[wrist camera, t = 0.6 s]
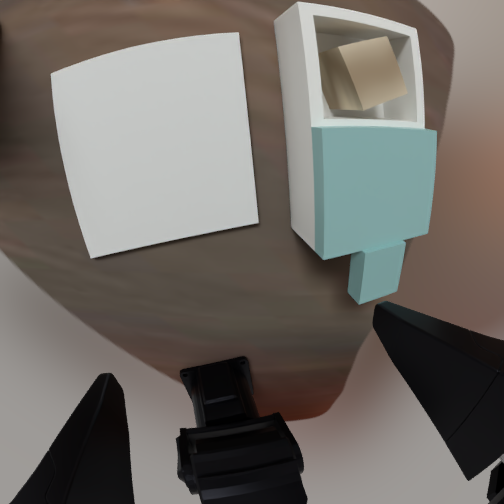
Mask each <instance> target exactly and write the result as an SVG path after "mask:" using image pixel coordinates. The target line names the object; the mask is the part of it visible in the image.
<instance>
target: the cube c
mask: <svg viewBox="0 0 504 504" xmlns="http://www.w3.org/2000/svg"><path fill="white" fill-rule="evenodd" d="M318 57H319V66H320V76H321V87H322V92H323V94H324V96H325V99H326V101H327V104H328V106H329V109H340V110H363V111H364V110H366V109H369V108H371V107H374V106H376V105H379V104H381V103H384V102H387V101H389V100H392V99H395V98H397V97H400V96H403V95H405V94H408V92H407V89H406V86H405V83H404V80H403V77H402V74H401V71H400V68H399V65H398V63H397V60H396V57H395V55H394V52H393V50H392V47H391V45H390V42H389V40H388V37H387V36H385V37H379V38H374V39H369V40H365V41H360V42H356V43H351V44H347V45H343V46H339V47H336V48H333V49H330V50H327V51H324V52H321V53H318Z"/></svg>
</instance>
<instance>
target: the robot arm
mask: <svg viewBox="0 0 504 504" xmlns="http://www.w3.org/2000/svg"><path fill="white" fill-rule="evenodd" d="M372 323H373V328H374V330H375V331H376V333H377V335H378V337H379V339H380V340H381V342H382V344H383V346H384V348H385V350H386V351H387V353H388V355H389V357H390V358H391V360H392V362H393V363H394V365H395V366H396V368H397V369H398V371H399V372H400V373H401V375H402V377H403V378H404V379H405V381H406V382H407V384H408V385H409V387H410V388H411V390H412V391H413V393H414V394H415V396H416V397H417V399H418V400H419V402H420V404H421V405H422V407H423V408H424V410H425V411H426V413H427V414H428V416H429V417H430V419H431V421H432V422H433V424H434V425H435V427H436V429H437V430H438V432H439V433H440V435H441V436H442V438H443V440H444V441H445V443H446V445H447V447H448V448H449V450H450V452H451V453H452V455H453V457H454V458H455V460H456V462H457V463H458V465H459V467H460V468H461V470H462V472H463V474H464V475H465V477H466V479H467V480H468V481H469V480H471V479H472V478H474V477H475V476H476V475H478V474H479V473H480V472H482V471H483V470H484V469H486V468H487V467H488V466H489V465H491V464H492V463H493V462H494V461H496V460H497V459H498V458H500V459H501V461H500V462H499V463H498V464H497V465H496V466H495V468H494V469H493V470H492V471H491V475H490V482H489V487H488V493H487V498H488V500H489V501H490V502H489V503H488V504H504V340H500V339H496V338H492V337H489V336H486V335H483V334H480V333H477V332H474V331H471V330H470V331H469V330H468V329H465V328H462V327H460V326H457V325H454V324H451V323H448V322H445V321H442V320H439V319H437V318H434V317H431V316H428V315H425V314H423V313H420V312H417V311H414V310H411V309H408V308H405V307H402V306H400V305H397V304H394V303H391V302H388V301H383V302H381V303H378V304H376V306H375V309H374V316H373V322H372ZM242 361H243V362H242ZM180 377H181V379H182V381H183V383H184V386H185V387H186V390H187V392H188V394H189V396H190V398H191V400H192V402H193V407H194V413H195V419H196V424H197V428H189V429H186V428H180V436H179V437H177V438H176V443H177V451H178V467H177V469H178V470H177V474H178V478H179V479H180V480H182V481H183V482H185V483H186V486H187V487H188V488H189V491H190V493H191V494H192V495H193V494H199V496H200V500H201V503H202V504H307V495H306V493H305V490H304V487H303V484H302V480H301V476H300V474H301V473H302V472H303V470H304V462H303V457H302V454H301V451H300V448H299V446H298V443H297V442H296V440H295V438H294V436H293V435H292V433H291V431H290V430H289V428H288V426H287V425H286V423H285V421H284V420H283V418H282V416H281V415H280V413H279V412H277V413H273V414H272V415H268V416H263V417H260V416H259V413H258V411H257V408H256V405H255V402H254V399H253V396H252V395H253V387H252V382H251V376H250V370H249V365H248V360H247V358H246V357H244V356H242V357H237V358H233V359H229V360H224V361H220V362H216V363H211V364H206V365H201V366H196V367H191V368H186V369H182V370H181V371H180ZM9 504H135V502H134V494H133V484H132V473H131V461H130V442H129V431H128V423H127V416H126V408H125V399H124V393H123V389H122V387H121V386H120V384H119V383H118V382H117V380H116V378H115V377H114V375H113V374H112V373H103V374H100V375H99V376H98V377H97V379H96V380H95V381H94V383H93V384H92V385H91V387H90V388H89V390H88V391H87V393H86V394H85V396H84V397H83V398H82V400H81V401H80V403H79V404H78V406H77V407H76V409H75V410H74V412H73V413H72V414H71V416H70V417H69V419H68V420H67V422H66V424H65V425H64V427H63V428H62V430H61V431H60V433H59V434H58V436H57V437H56V439H55V440H54V442H53V443H52V445H51V447H50V448H49V451H47V453H46V454H45V456H44V457H43V459H42V460H41V462H40V464H39V465H38V467H37V468H36V470H35V471H34V472H33V474H32V475H31V476H30V478H29V479H28V481H27V482H26V483H25V484H24V486H23V487H22V488H21V490H20V491H19V492H18V494H17V495H16V496H15V498H14V499H13V500H12V502H11V503H9Z"/></svg>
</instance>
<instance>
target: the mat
mask: <svg viewBox="0 0 504 504" xmlns="http://www.w3.org/2000/svg"><path fill="white" fill-rule="evenodd" d="M51 83H52V94H53V103H54V111H55V119H56V125H57V132H58V138H59V143H60V149H61V154H62V159H63V163H64V168H65V172H66V177H67V181H68V185H69V189H70V193H71V197H72V200H73V204H74V207H75V211H76V214H77V218H78V221H79V224H80V228H81V231H82V234H83V237H84V240H85V243H86V246H87V249H88V251H89V254H90V257H91V258H95V257H99V256H103V255H108V254H112V253H116V252H121V251H125V250H130V249H134V248H139V247H143V246H148V245H152V244H157V243H162V242H166V241H171V240H176V239H180V238H185V237H190V236H195V235H200V234H205V233H210V232H215V231H220V230H225V229H230V228H235V227H240V226H245V225H250V224H255V223H259V222H258V211H257V201H256V191H255V181H254V171H253V161H252V151H251V141H250V132H249V122H248V112H247V103H246V94H245V85H244V75H243V66H242V57H241V48H240V40H239V32H238V33H220V34H209V35H199V36H191V37H183V38H176V39H170V40H164V41H159V42H154V43H149V44H144V45H139V46H135V47H131V48H127V49H123V50H119V51H115V52H112V53H108V54H105V55H101V56H98V57H95V58H92V59H89V60H86V61H83V62H80V63H77V64H75V65H72V66H69V67H67V68H64V69H61V70H59V71H56V72H54V73H52V74H51Z"/></svg>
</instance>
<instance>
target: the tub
mask: <svg viewBox="0 0 504 504" xmlns="http://www.w3.org/2000/svg"><path fill="white" fill-rule="evenodd" d="M274 28H275V36H276V44H277V53H278V62H279V71H280V81H281V91H282V101H283V112H284V124H285V136H286V149H287V164H288V179H289V196H290V215H291V228H292V229H293V230H294V231H295V232H296V233H297V234H298V235H299V236H300V237H301V238H302V239H303V240H304V241H305V242H306V243H307V244H308V245H309V246H310V247H311V248H312V249H313V250H314V251H315V206H314V171H313V149H312V131H311V127H320V126H391V127H410V128H423V129H424V93H423V79H422V67H421V58H420V50H419V43H418V36H417V30H416V29H415V28H412V27H409V26H406V25H403V24H400V23H397V22H394V21H391V20H388V19H384V18H381V17H377V16H373V15H369V14H365V13H361V12H357V11H352V10H348V9H343V8H337V7H332V6H326V5H319V4H312V3H304V2H297V3H295V4H294V5H293V6H292V7H290V8H289V9H288V10H287V11H285V12H284V13H283V14H282V15H280V16H279V17H278V18H277V19H276V20H274ZM385 36H387V37H388V40H389V42H390V45H391V47H392V50H393V52H394V55H395V57H396V60H397V63H398V65H399V68H400V71H401V74H402V77H403V80H404V83H405V86H406V89H407V92H408V94H405V95H403V96H400V97H397V98H395V99H392V100H389V101H387V102H384V103H381V104H379V105H376V106H374V107H371V108H369V109H366V110H364V111H363V110H340V109H329V106H328V104H327V101H326V99H325V96H324V94H323V92H322V87H321V76H320V66H319V57H318V53H321V52H324V51H327V50H330V49H333V48H336V47H339V46H343V45H347V44H351V43H356V42H360V41H365V40H369V39H374V38H379V37H385Z"/></svg>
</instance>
